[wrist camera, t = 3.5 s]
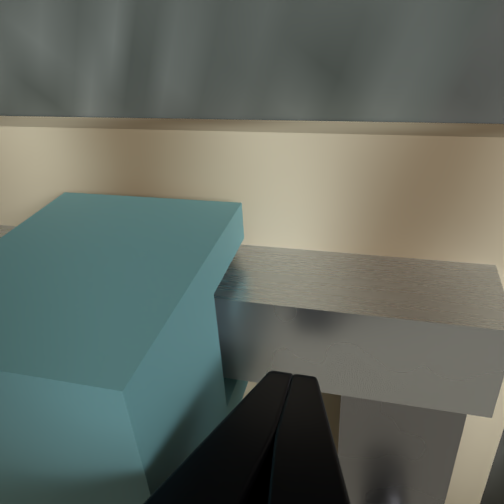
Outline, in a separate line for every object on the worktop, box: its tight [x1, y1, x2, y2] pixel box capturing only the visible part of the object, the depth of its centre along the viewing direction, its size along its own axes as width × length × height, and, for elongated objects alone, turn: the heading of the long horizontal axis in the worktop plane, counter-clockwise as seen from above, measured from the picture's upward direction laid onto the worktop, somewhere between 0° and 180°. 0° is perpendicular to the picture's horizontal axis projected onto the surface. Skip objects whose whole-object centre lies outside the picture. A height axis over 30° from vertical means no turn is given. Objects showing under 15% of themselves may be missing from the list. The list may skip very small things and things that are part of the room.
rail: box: [0, 225, 504, 418], centre depth 11 cm, size 17×2×2 cm, turn 93°
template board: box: [0, 116, 504, 504], centre depth 14 cm, size 19×15×1 cm
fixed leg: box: [338, 395, 467, 504], centre depth 11 cm, size 2×6×4 cm, turn 3°
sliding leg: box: [0, 192, 248, 504], centre depth 10 cm, size 4×9×5 cm, turn 3°
